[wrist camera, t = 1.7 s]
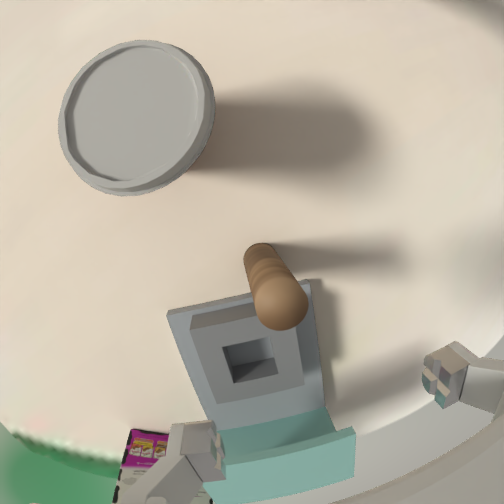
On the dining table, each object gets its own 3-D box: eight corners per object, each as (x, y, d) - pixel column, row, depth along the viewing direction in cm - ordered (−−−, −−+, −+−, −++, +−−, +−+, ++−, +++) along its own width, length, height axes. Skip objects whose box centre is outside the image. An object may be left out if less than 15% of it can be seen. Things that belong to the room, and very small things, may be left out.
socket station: (168, 310, 29) (140, 385, 17) (306, 279, 29) (354, 338, 18) (216, 430, 33) (217, 506, 21) (323, 406, 34) (353, 476, 22)
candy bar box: (134, 448, 33) (114, 540, 17) (130, 427, 32) (103, 526, 16) (211, 458, 35) (213, 554, 19) (213, 438, 33) (214, 543, 18)
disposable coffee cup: (138, 80, 23) (90, 26, 12) (233, 105, 25) (241, 53, 13) (104, 174, 25) (33, 174, 13) (197, 203, 27) (178, 220, 15)
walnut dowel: (240, 247, 28) (251, 289, 17) (273, 239, 28) (304, 276, 17) (247, 279, 29) (261, 336, 18) (280, 271, 29) (311, 323, 18)
